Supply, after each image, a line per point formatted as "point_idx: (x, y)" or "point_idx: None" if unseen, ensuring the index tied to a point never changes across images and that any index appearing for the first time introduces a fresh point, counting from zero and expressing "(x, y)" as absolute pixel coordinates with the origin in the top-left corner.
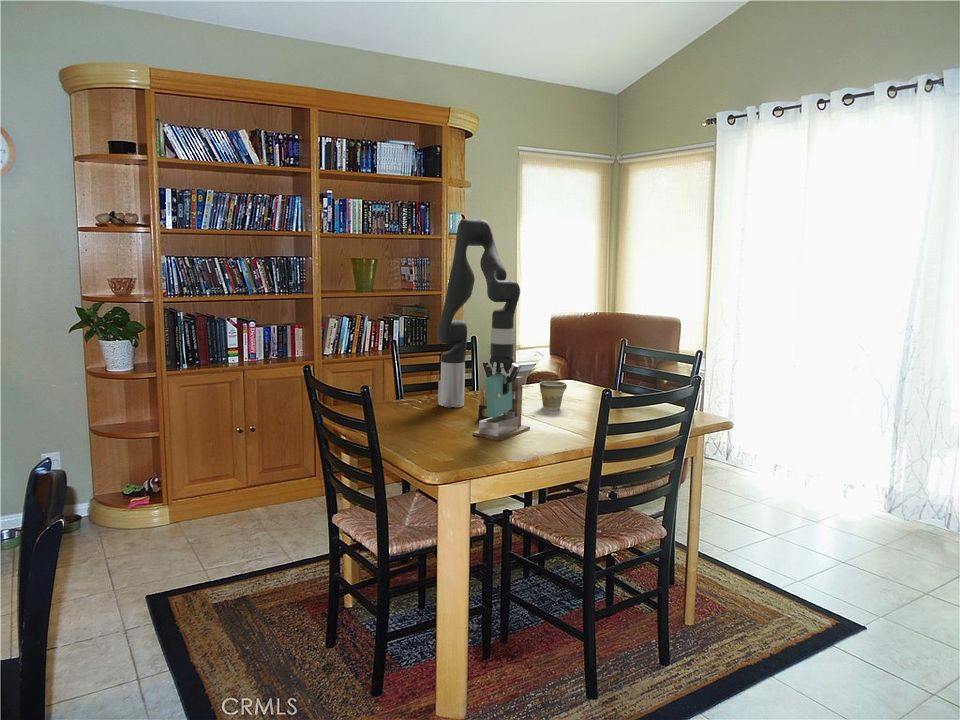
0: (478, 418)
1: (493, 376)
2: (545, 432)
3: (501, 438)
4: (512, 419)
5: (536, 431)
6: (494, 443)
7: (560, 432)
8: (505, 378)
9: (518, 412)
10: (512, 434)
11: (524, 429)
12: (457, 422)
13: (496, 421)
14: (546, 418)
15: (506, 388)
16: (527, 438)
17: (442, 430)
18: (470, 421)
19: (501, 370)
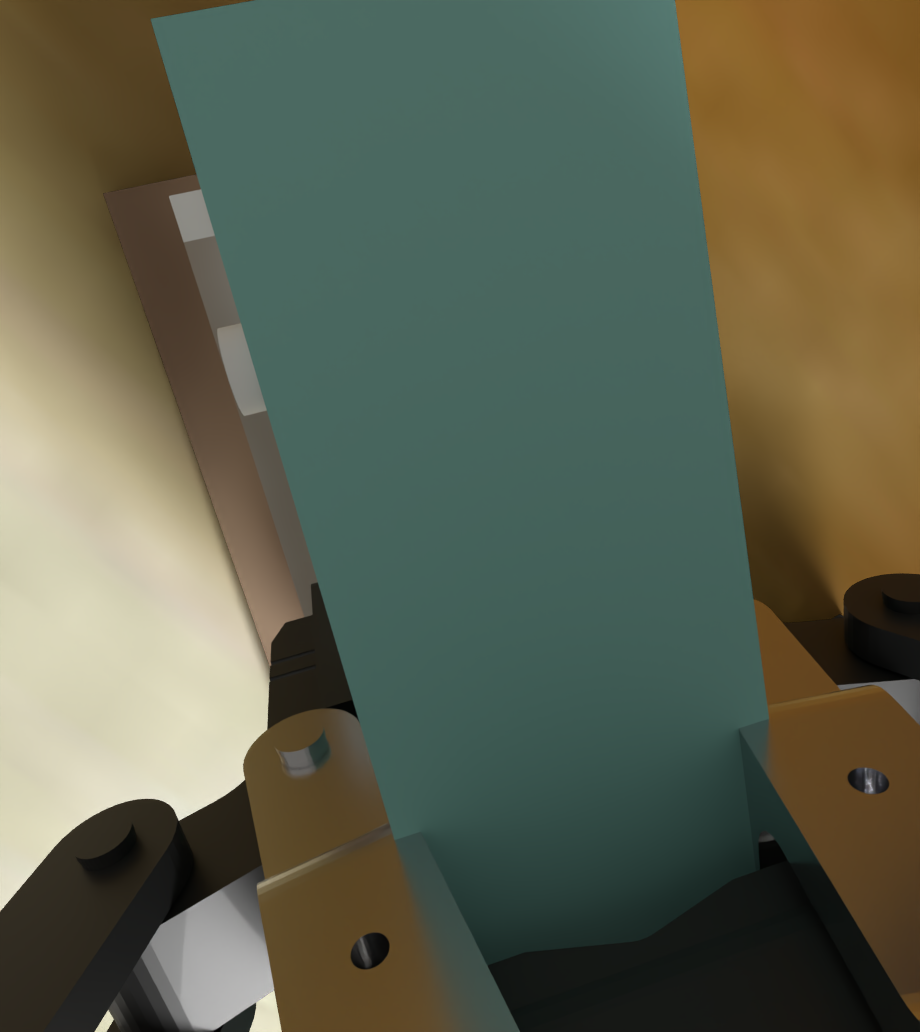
0: (840, 617)
1: (577, 455)
2: (136, 784)
3: (109, 206)
4: (292, 574)
5: (213, 743)
6: (57, 38)
7: None
8: (287, 833)
9: None
10: (195, 445)
11: (269, 662)
12: (900, 385)
13: None
14: None
15: (283, 679)
16: (41, 508)
17: (833, 15)
18: (837, 504)
19: (498, 1027)
